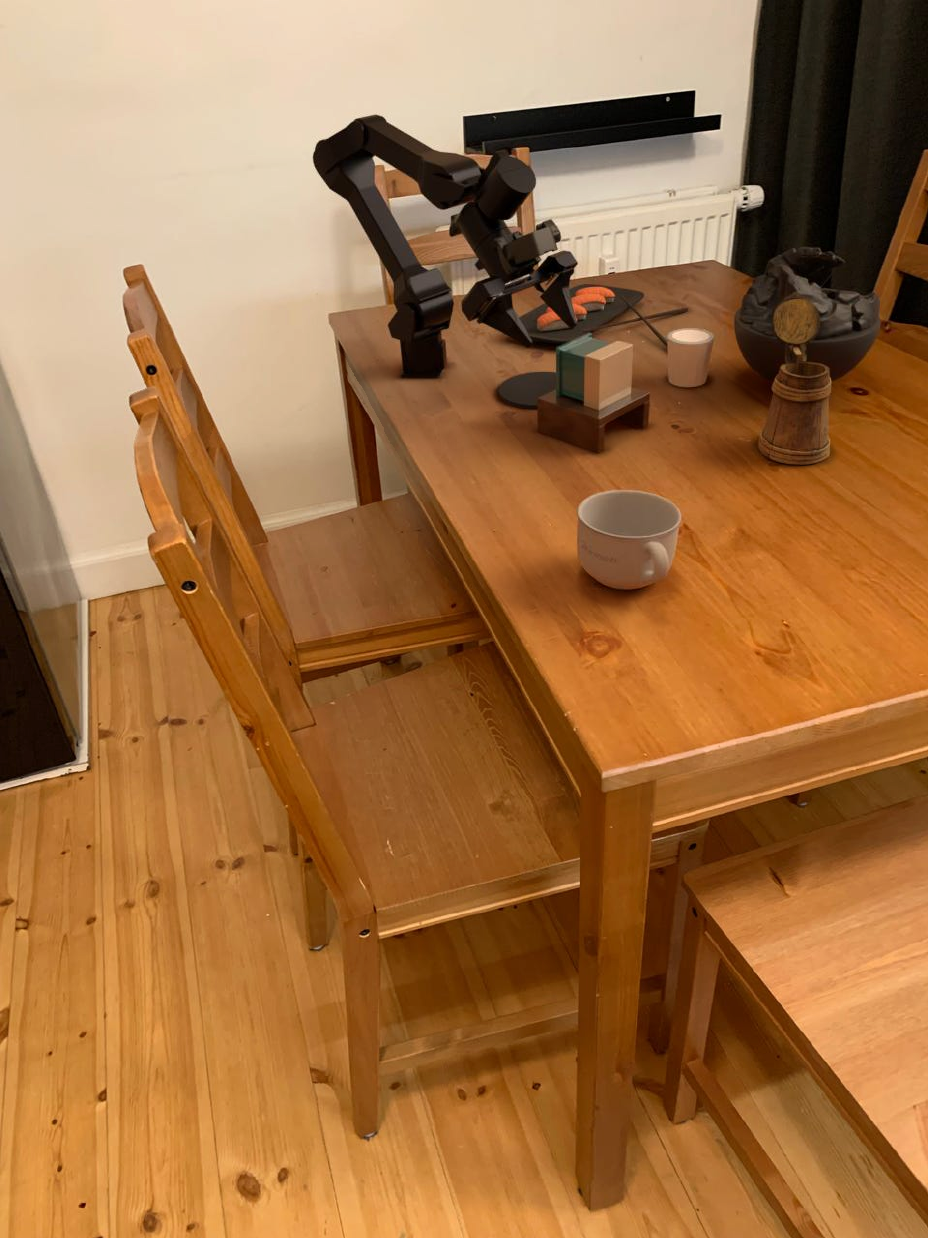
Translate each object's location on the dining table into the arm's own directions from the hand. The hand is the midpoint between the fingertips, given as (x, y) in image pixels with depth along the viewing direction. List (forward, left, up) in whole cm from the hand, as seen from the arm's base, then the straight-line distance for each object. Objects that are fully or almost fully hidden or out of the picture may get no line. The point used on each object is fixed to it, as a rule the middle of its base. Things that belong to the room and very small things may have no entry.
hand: (552, 336), depth 133 cm
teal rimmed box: (+6, -4, -7) cm, 10 cm away
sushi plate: (+7, +37, -12) cm, 39 cm away
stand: (+6, -4, -12) cm, 14 cm away
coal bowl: (+35, +13, -12) cm, 39 cm away
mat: (-3, +9, -12) cm, 15 cm away
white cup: (+19, +14, -12) cm, 26 cm away
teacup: (+12, -42, -12) cm, 46 cm away
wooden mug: (+32, -7, -12) cm, 35 cm away
